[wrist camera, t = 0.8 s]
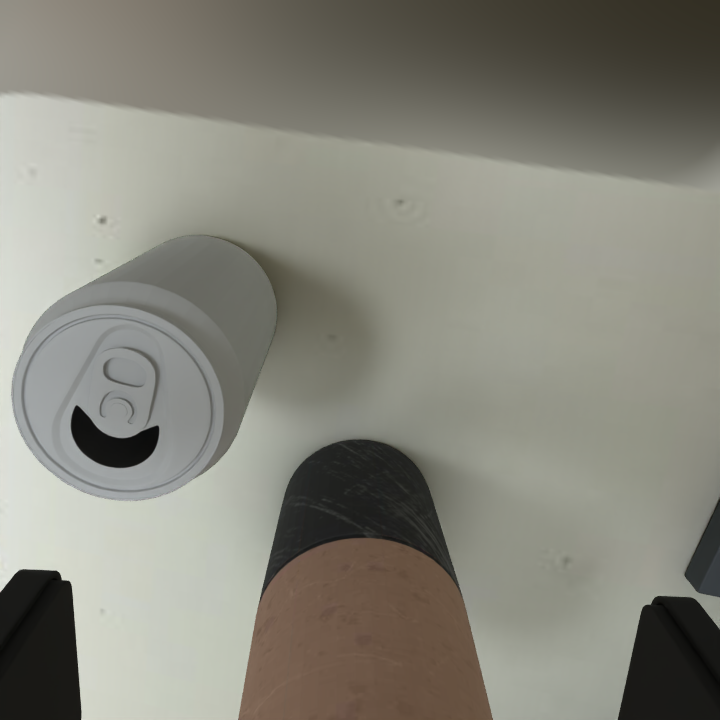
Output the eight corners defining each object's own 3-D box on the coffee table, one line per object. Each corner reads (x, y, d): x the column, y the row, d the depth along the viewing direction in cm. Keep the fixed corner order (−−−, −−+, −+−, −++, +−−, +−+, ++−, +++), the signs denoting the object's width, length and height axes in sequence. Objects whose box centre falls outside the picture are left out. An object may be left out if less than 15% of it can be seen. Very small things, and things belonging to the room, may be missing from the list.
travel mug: (260, 451, 31) (131, 925, 12) (420, 418, 31) (540, 854, 12) (298, 585, 34) (240, 1158, 15) (448, 556, 33) (585, 1103, 14)
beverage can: (120, 354, 30) (-19, 485, 18) (147, 213, 28) (10, 262, 17) (259, 390, 30) (209, 538, 19) (295, 255, 29) (262, 330, 17)
